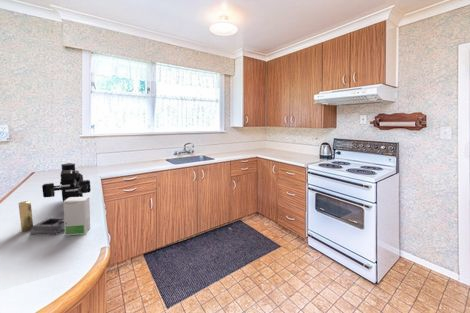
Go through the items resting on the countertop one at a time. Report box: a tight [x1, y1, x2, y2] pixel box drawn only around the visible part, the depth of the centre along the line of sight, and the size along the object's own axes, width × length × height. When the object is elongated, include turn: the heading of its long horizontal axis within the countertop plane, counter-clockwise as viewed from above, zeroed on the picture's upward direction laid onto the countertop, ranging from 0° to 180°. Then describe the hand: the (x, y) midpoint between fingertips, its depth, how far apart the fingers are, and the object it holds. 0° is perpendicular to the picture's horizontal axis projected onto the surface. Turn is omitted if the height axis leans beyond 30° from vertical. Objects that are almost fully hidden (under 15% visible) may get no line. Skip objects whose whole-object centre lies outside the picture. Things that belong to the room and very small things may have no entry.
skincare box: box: [62, 196, 91, 237], centre depth 99 cm, size 8×7×16 cm
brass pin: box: [18, 200, 34, 233], centre depth 100 cm, size 4×4×13 cm
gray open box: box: [29, 217, 65, 236], centre depth 101 cm, size 12×9×5 cm
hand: (65, 193), depth 102 cm, fingers open, 9 cm apart
